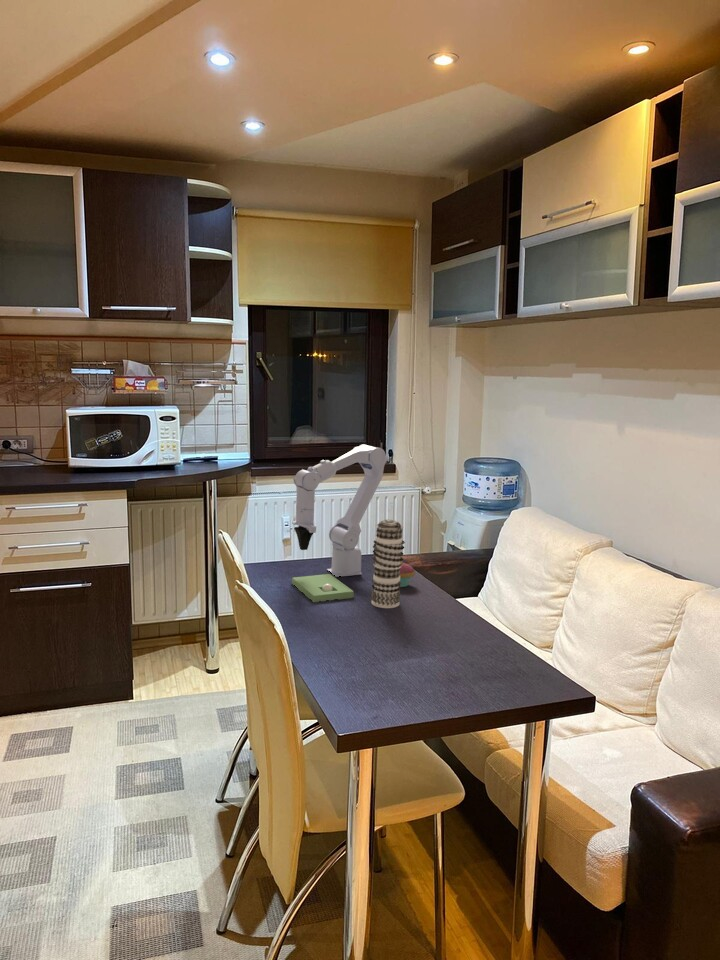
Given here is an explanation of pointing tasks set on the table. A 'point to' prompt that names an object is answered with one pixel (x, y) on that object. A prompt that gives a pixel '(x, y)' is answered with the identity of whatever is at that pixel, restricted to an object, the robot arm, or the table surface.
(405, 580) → the cupcake
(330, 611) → the table surface
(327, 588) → the ball
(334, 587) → the putting mat
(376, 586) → the cream and black cylinder
